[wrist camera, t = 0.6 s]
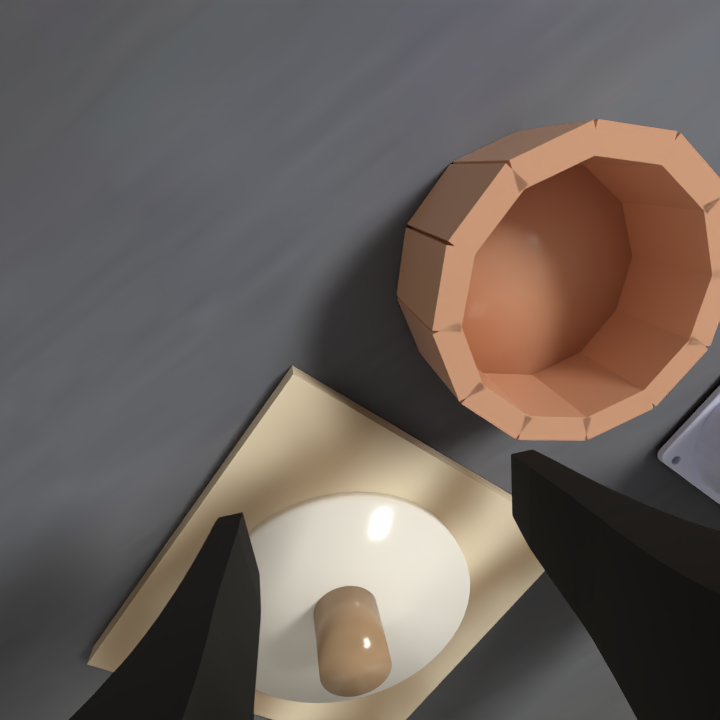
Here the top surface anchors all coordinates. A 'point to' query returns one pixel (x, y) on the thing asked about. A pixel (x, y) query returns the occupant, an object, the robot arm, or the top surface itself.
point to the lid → (354, 595)
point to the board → (328, 476)
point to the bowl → (566, 275)
